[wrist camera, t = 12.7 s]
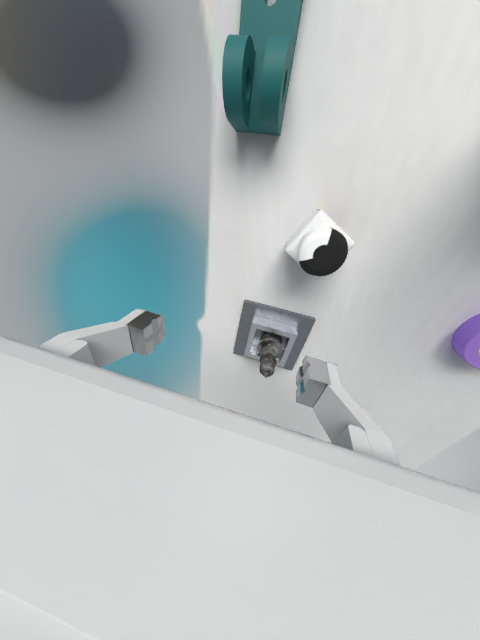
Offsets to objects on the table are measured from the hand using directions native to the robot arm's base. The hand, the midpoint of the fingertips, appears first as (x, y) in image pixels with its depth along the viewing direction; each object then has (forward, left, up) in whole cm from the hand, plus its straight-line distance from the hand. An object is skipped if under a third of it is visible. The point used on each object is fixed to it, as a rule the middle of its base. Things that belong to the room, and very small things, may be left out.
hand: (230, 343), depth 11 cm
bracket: (+7, -24, -31) cm, 40 cm away
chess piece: (-5, +21, -30) cm, 37 cm away
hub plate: (-5, +21, -31) cm, 37 cm away
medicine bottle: (-7, -2, -31) cm, 32 cm away
